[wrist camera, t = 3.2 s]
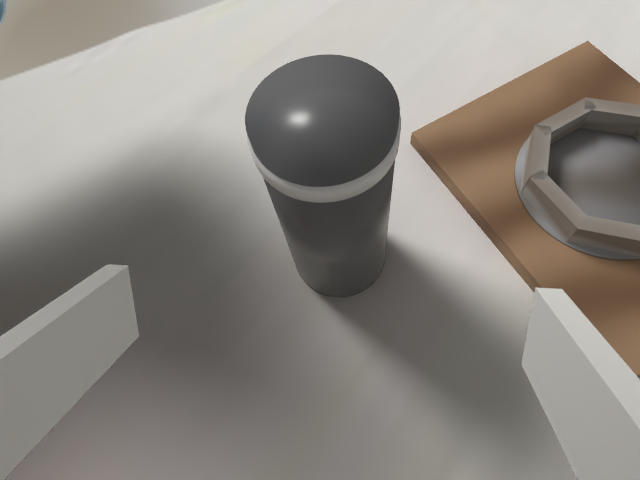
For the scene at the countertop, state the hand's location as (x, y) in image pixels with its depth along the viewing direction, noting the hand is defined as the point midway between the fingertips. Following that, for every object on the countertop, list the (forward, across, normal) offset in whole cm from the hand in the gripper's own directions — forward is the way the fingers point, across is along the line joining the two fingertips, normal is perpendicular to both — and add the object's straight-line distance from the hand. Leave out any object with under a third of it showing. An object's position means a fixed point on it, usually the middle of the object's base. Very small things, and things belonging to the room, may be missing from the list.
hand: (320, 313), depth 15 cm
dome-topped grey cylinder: (+15, -1, -4) cm, 16 cm away
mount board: (+19, +16, 0) cm, 25 cm away
